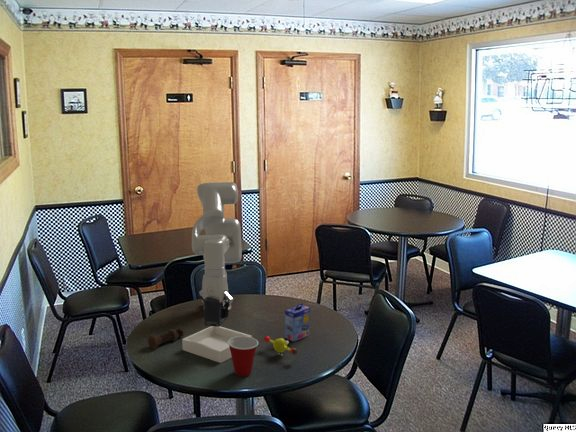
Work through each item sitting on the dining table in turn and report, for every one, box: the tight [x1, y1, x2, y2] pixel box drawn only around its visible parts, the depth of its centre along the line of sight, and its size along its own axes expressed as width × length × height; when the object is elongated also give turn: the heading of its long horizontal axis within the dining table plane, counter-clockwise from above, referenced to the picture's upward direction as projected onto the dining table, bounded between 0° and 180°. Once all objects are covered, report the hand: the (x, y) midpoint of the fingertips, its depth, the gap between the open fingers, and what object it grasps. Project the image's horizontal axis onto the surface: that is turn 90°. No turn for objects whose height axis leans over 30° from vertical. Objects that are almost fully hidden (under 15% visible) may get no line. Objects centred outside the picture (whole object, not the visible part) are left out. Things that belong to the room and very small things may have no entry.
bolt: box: [147, 328, 185, 350], centre depth 234 cm, size 6×5×15 cm
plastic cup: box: [228, 336, 259, 377], centre depth 206 cm, size 11×11×12 cm
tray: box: [181, 325, 253, 364], centre depth 228 cm, size 20×18×4 cm
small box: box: [203, 297, 229, 327], centre depth 225 cm, size 11×6×10 cm, turn 167°
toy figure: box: [263, 335, 298, 357], centre depth 220 cm, size 18×6×7 cm, turn 42°
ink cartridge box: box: [284, 302, 311, 342], centre depth 237 cm, size 10×6×14 cm, turn 137°
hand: (216, 315), depth 225 cm, fingers closed on small box, 8 cm apart
